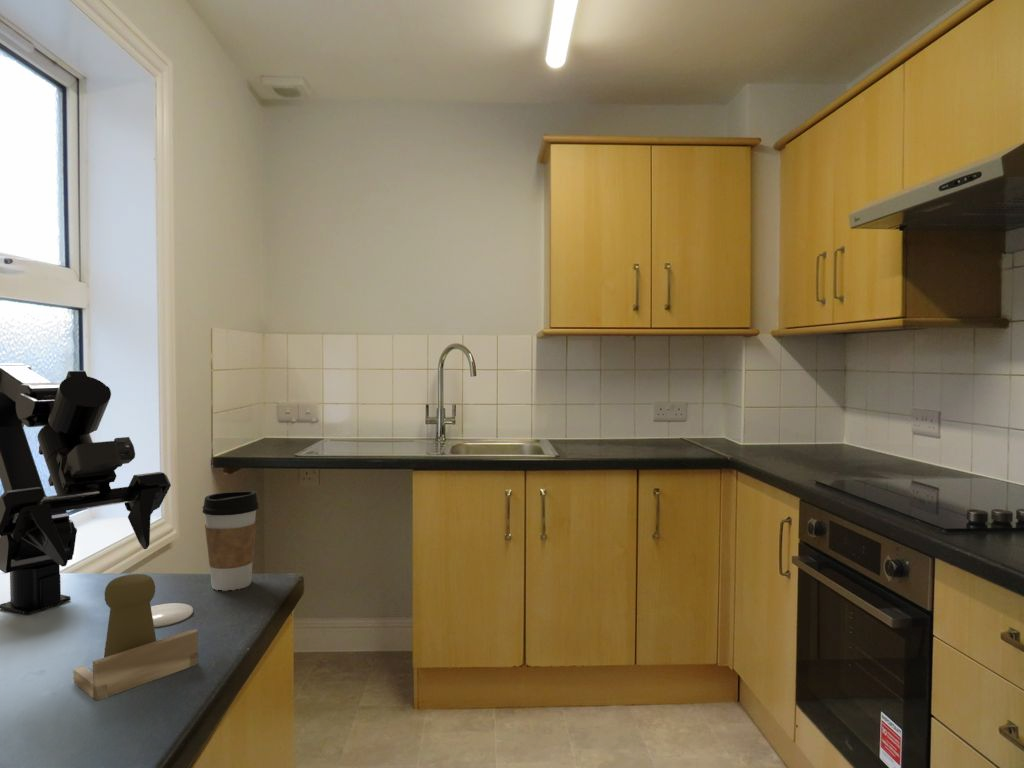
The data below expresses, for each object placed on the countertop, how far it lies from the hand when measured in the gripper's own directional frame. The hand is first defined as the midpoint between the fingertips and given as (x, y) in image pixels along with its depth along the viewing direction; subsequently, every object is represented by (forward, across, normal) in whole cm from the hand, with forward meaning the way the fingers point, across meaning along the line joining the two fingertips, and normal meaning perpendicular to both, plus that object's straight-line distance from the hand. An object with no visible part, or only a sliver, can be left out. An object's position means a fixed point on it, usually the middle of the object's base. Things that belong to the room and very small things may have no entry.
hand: (107, 555), depth 82 cm
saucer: (+4, +10, +14) cm, 17 cm away
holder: (+14, 0, +3) cm, 15 cm away
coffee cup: (0, +23, +18) cm, 29 cm away
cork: (+13, 0, +4) cm, 14 cm away
